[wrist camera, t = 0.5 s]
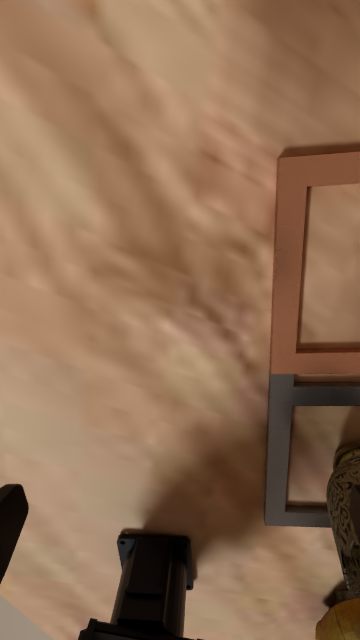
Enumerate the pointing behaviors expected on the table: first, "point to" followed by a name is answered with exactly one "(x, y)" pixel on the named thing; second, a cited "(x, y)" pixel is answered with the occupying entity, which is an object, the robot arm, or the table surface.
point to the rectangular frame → (284, 322)
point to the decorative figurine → (341, 619)
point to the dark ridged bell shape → (345, 512)
